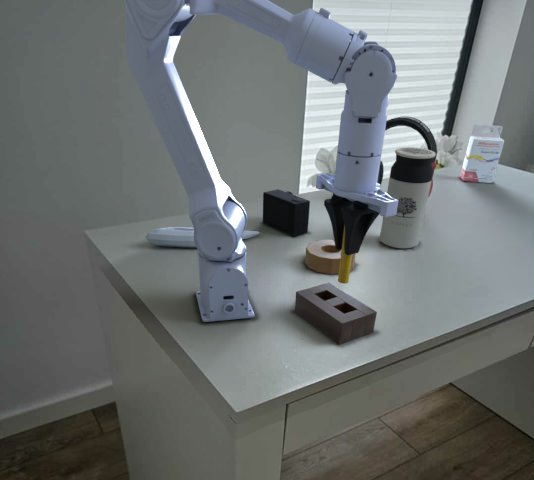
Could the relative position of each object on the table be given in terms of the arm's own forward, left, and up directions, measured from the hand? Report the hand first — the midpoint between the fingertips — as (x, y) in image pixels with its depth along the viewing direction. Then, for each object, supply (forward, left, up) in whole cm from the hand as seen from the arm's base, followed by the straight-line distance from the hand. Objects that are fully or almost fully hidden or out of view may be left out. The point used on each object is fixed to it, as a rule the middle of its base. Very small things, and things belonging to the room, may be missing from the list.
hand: (346, 250), depth 72 cm
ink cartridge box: (+68, -68, -11) cm, 97 cm away
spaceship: (+33, +17, -11) cm, 39 cm away
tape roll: (+18, -5, -10) cm, 21 cm away
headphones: (+51, -33, -11) cm, 62 cm away
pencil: (0, 0, -5) cm, 5 cm away
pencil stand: (-2, +2, -10) cm, 11 cm away
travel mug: (+26, -23, -11) cm, 36 cm away
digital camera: (+38, -2, -11) cm, 40 cm away
